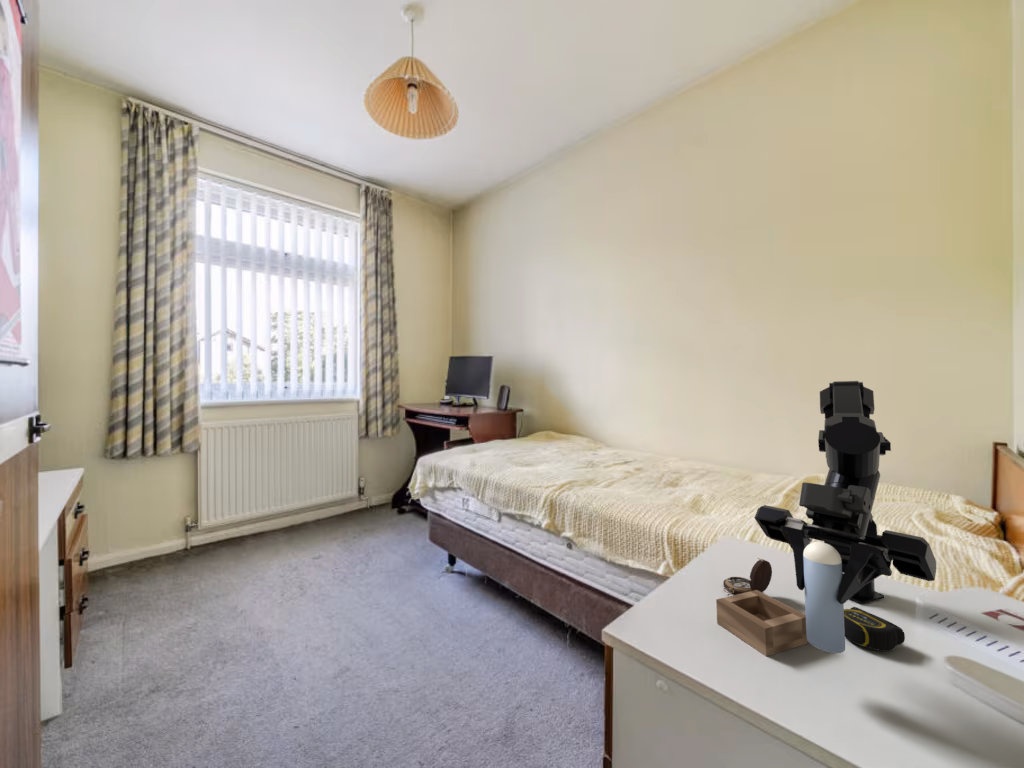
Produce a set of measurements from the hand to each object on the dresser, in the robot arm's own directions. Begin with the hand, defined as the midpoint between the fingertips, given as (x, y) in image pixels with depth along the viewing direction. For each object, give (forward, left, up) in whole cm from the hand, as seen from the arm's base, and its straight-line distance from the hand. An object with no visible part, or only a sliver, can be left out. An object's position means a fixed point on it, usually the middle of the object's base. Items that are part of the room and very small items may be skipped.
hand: (819, 595), depth 52 cm
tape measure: (-18, -5, -13) cm, 23 cm away
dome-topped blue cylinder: (-1, 0, -7) cm, 7 cm away
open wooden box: (-4, -12, -12) cm, 18 cm away
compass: (-13, -23, -13) cm, 30 cm away
